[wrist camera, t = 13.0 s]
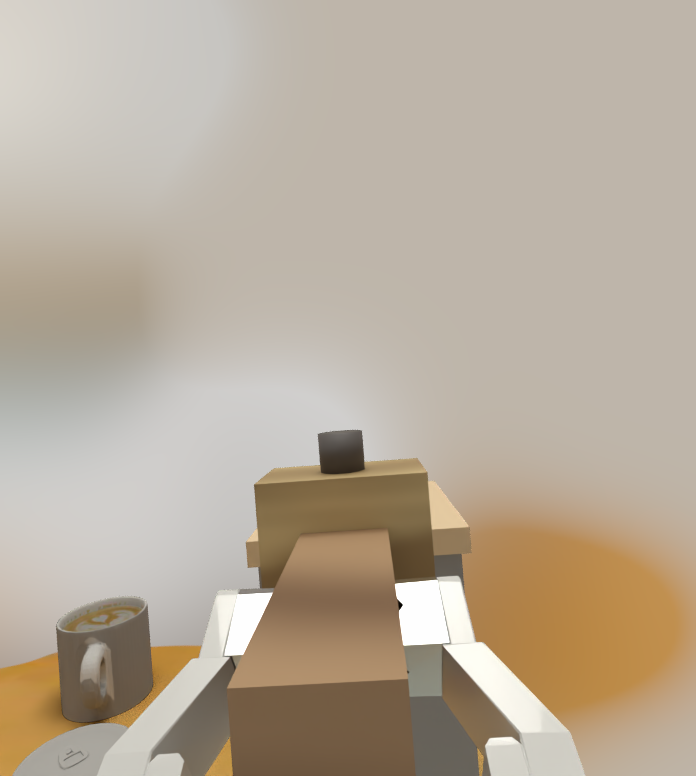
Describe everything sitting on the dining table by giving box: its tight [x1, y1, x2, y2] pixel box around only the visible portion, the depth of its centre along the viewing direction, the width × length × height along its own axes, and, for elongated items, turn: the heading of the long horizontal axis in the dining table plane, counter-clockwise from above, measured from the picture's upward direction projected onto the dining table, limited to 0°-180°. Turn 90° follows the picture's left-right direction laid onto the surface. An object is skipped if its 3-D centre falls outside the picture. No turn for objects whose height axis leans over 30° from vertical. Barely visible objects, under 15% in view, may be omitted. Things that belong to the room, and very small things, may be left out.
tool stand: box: [246, 481, 479, 776], centre depth 36 cm, size 15×13×26 cm
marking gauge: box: [227, 430, 436, 776], centre depth 17 cm, size 20×5×5 cm, turn 177°
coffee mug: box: [56, 596, 153, 722], centre depth 59 cm, size 13×10×10 cm
